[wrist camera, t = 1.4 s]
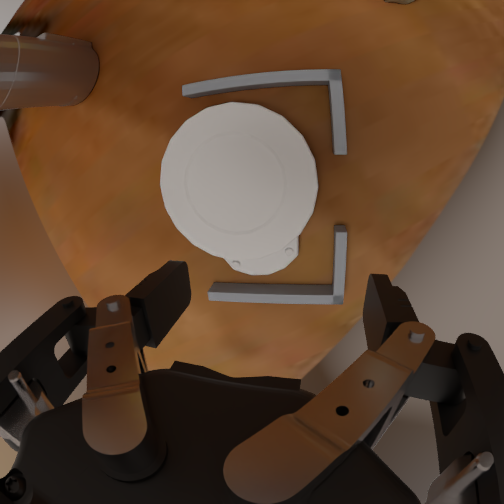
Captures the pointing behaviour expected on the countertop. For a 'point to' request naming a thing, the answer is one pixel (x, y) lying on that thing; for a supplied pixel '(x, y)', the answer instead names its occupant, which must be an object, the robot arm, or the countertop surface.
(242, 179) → the lid
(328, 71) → the lid holder
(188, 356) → the countertop surface
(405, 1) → the chocolate bunny
